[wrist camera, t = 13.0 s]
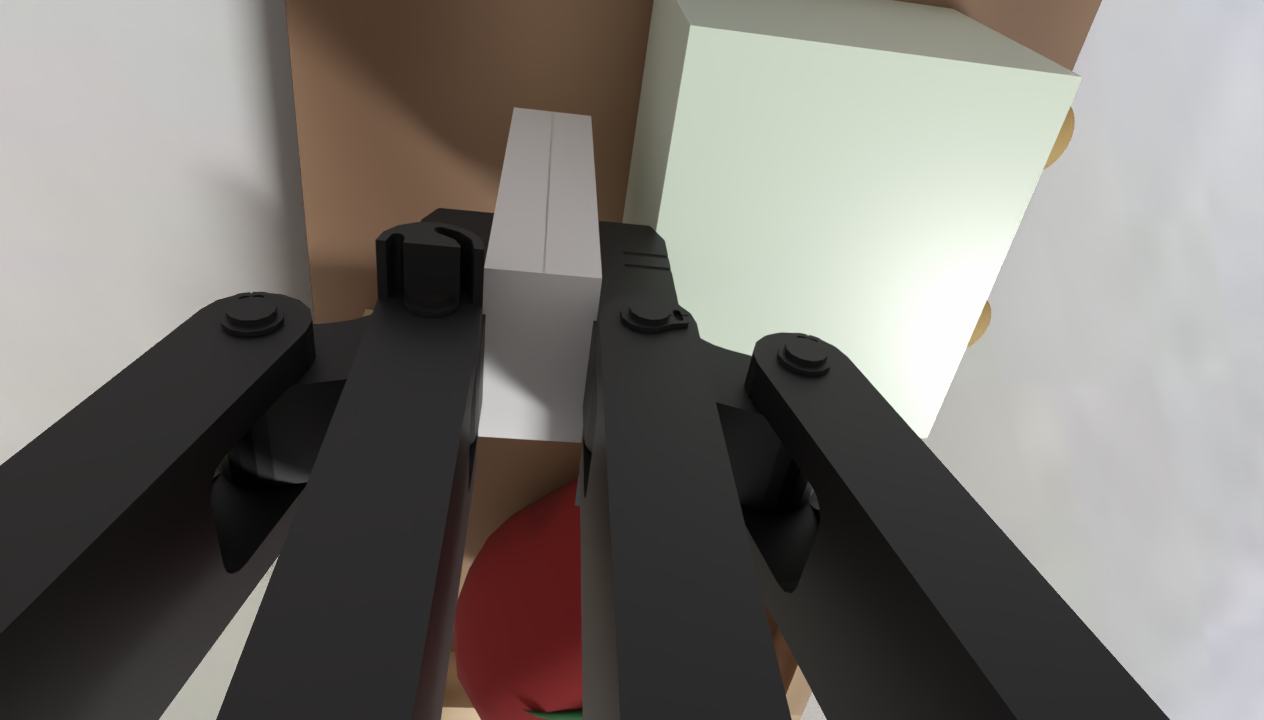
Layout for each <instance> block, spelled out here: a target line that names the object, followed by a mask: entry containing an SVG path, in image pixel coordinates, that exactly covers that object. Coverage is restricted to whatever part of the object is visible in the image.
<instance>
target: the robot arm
mask: <svg viewBox="0 0 1264 720" xmlns="http://www.w3.org/2000/svg"><path fill="white" fill-rule="evenodd" d="M375 243H376V266H377V288H378V300H377V302H376V305H375V307H374V310H373V313H372V314H370V315H367V316H364V317H361V318H358V319H354V320H347V321H341V322H333V323H322V324H313V322H312V317H311V312H310V309H309V308H308V307H307V306H305V305H304V304H303V303H302V302H301V301H299V300H297V299H294V298H291V297H288V296H285V295H281V294H272V293H266V292H253V293H250V292H248V293H240V294H237V295H234V296H231V297H227V298H223V299H220V300H217V301H215V302H213V303H211V304H209V305H208V306H206V307H204V308H202V309H201V310H199V311H198V312H197V313H195V314H194V315H193V316H192V317H190V318H189V319H188V320H186V321H185V322H184V323H183V324H181V325H180V326H179V327H177V328H176V329H175V330H174V331H172V332H171V333H170V334H168V335H167V336H166V337H165V338H163V339H162V340H161V341H160V342H158V343H157V344H156V345H154V346H153V347H152V348H151V349H149V350H148V351H147V352H145V353H144V354H143V355H142V356H140V357H139V358H138V359H136V360H135V361H134V362H133V363H131V364H130V365H129V366H127V367H126V368H125V369H124V370H122V371H121V372H120V373H118V374H117V375H116V376H115V377H113V378H112V379H111V380H110V381H108V382H107V383H106V384H104V385H103V386H102V387H101V388H99V389H98V390H97V391H95V392H94V393H93V394H92V395H90V396H89V397H88V398H86V399H85V400H84V401H83V402H81V403H80V404H79V405H77V406H76V407H75V408H74V409H72V410H71V411H70V412H68V413H67V414H66V415H65V416H63V417H62V418H61V419H60V420H58V421H57V422H56V423H54V424H53V425H52V426H51V427H49V428H48V429H47V430H45V431H44V432H43V433H42V434H40V435H39V436H38V437H36V438H35V439H34V440H33V441H31V442H30V443H29V444H27V445H26V446H25V447H24V448H22V449H21V450H20V451H19V452H17V453H16V454H15V455H13V456H12V457H11V458H10V459H8V460H7V461H6V462H4V463H3V464H2V465H1V466H0V720H159V718H160V717H161V716H162V714H163V713H164V712H165V710H166V709H167V707H168V706H169V705H170V703H171V702H172V701H173V699H174V698H175V696H176V695H177V694H178V692H179V691H180V690H181V688H182V687H183V686H184V684H185V683H186V681H187V680H188V679H189V677H190V676H191V675H192V673H193V672H194V671H195V669H196V668H197V666H198V665H199V664H200V662H201V661H202V660H203V658H204V657H205V655H206V654H207V653H208V651H209V650H210V649H211V647H212V646H213V645H214V643H215V642H216V640H217V639H218V638H219V636H220V635H221V634H222V632H223V631H224V629H225V628H226V627H227V625H228V624H229V623H230V621H231V620H232V619H233V617H234V616H235V614H236V613H237V612H238V610H239V609H240V608H241V606H242V605H243V603H244V602H245V601H246V599H247V598H248V597H249V595H250V594H251V593H252V591H253V590H254V588H255V587H256V586H257V584H258V583H259V582H260V580H261V579H262V578H263V576H264V575H265V573H266V572H267V571H268V569H269V568H270V567H271V565H272V564H273V562H274V561H275V560H276V558H277V557H278V556H279V557H278V560H277V563H276V565H275V568H274V571H273V573H272V576H271V578H270V581H269V584H268V586H267V589H266V591H265V594H264V597H263V599H262V602H261V604H260V607H259V610H258V612H257V615H256V617H255V620H254V623H253V625H252V628H251V630H250V633H249V636H248V638H247V641H246V643H245V646H244V649H243V651H242V654H241V657H240V659H239V662H238V664H237V667H236V670H235V672H234V675H233V677H232V680H231V683H230V685H229V688H228V690H227V693H226V696H225V698H224V701H223V703H222V706H221V709H220V711H219V714H218V716H217V719H216V720H441V715H442V708H443V701H444V694H445V687H446V679H447V672H448V665H449V658H450V651H451V643H452V636H453V629H454V622H455V614H456V607H457V600H458V593H459V586H460V578H461V571H462V564H463V557H464V549H465V542H466V535H467V528H468V521H469V513H470V506H471V499H472V492H473V485H474V477H475V470H476V463H477V443H478V436H479V437H495V438H512V439H528V440H544V441H560V442H576V443H581V441H582V433H583V445H582V453H581V460H580V468H579V476H578V484H577V492H576V499H575V506H580V527H581V617H582V706H583V720H792V719H791V714H790V710H789V706H788V702H787V698H786V694H785V689H784V685H783V681H782V677H781V673H780V668H779V664H778V660H777V656H776V652H775V648H774V643H773V639H772V635H771V631H770V627H769V623H768V618H767V614H766V610H765V606H764V602H763V600H764V601H765V603H766V605H767V607H768V609H769V611H770V613H771V615H772V617H773V618H774V620H775V622H776V624H777V626H778V628H779V630H780V632H781V634H782V635H783V637H784V639H785V641H786V643H787V645H788V647H789V649H790V651H791V652H792V654H793V656H794V658H795V660H796V662H797V664H798V666H799V668H800V669H801V671H802V673H803V675H804V677H805V679H806V681H807V683H808V685H809V686H810V688H811V690H812V692H813V694H814V696H815V698H816V700H817V702H818V703H819V705H820V707H821V709H822V711H823V713H824V715H825V717H826V719H827V720H1170V719H1169V718H1168V717H1167V716H1166V715H1165V713H1164V712H1163V711H1162V710H1161V709H1160V708H1159V707H1158V706H1157V704H1156V703H1155V702H1154V701H1153V700H1152V699H1151V698H1150V697H1149V695H1148V694H1147V693H1146V692H1145V691H1144V690H1143V689H1142V688H1141V686H1140V685H1139V684H1138V683H1137V682H1136V681H1135V680H1134V679H1133V677H1132V676H1131V675H1130V674H1129V673H1128V672H1127V671H1126V670H1125V668H1124V667H1123V666H1122V665H1121V664H1120V663H1119V662H1118V661H1117V659H1116V658H1115V657H1114V656H1113V655H1112V654H1111V653H1110V652H1109V650H1108V649H1107V648H1106V647H1105V646H1104V645H1103V644H1102V643H1101V641H1100V640H1099V639H1098V638H1097V637H1096V636H1095V635H1094V634H1093V632H1092V631H1091V630H1090V629H1089V628H1088V627H1087V626H1086V625H1085V623H1084V622H1083V621H1082V620H1081V619H1080V618H1079V617H1078V616H1077V614H1076V613H1075V612H1074V611H1073V610H1072V609H1071V608H1070V607H1069V605H1068V604H1067V603H1066V602H1065V601H1064V600H1063V599H1062V598H1061V596H1060V595H1059V594H1058V593H1057V592H1056V591H1055V590H1054V588H1053V587H1052V586H1051V585H1050V584H1049V583H1048V582H1047V581H1046V579H1045V578H1044V577H1043V576H1042V575H1041V574H1040V573H1039V572H1038V570H1037V569H1036V568H1035V567H1034V566H1033V565H1032V564H1031V563H1030V561H1029V560H1028V559H1027V558H1026V557H1025V556H1024V555H1023V554H1022V552H1021V551H1020V550H1019V549H1018V548H1017V547H1016V546H1015V545H1014V543H1013V542H1012V541H1011V540H1010V539H1009V538H1008V537H1007V536H1006V534H1005V533H1004V532H1003V531H1002V530H1001V529H1000V528H999V527H998V525H997V524H996V523H995V522H994V521H993V520H992V519H991V518H990V516H989V515H988V514H987V513H986V512H985V511H984V510H983V509H982V507H981V506H980V505H979V504H978V503H977V502H976V501H975V500H974V498H973V497H972V496H971V495H970V494H969V493H968V492H967V491H966V489H965V488H964V487H963V486H962V485H961V484H960V483H959V482H958V480H957V479H956V478H955V477H954V476H953V475H952V474H951V473H950V471H949V470H948V469H947V468H946V467H945V466H944V465H943V463H942V462H941V461H940V460H939V459H938V458H937V457H936V456H935V454H934V453H933V452H932V451H931V450H930V449H929V448H928V447H927V445H926V444H925V443H924V442H923V441H922V440H921V439H920V438H919V436H918V435H917V434H916V433H915V432H914V431H913V430H912V429H911V427H910V426H909V425H908V424H907V423H906V422H905V421H904V420H903V418H902V417H901V416H900V415H899V414H898V413H897V412H896V411H895V409H894V408H893V407H892V406H891V405H890V404H889V403H888V402H887V400H886V399H885V398H884V397H883V396H882V395H881V394H880V393H879V391H878V390H877V389H876V388H875V387H874V386H873V385H872V384H871V382H870V381H869V380H868V379H867V378H866V377H865V376H864V375H863V373H862V372H861V371H860V370H859V369H858V368H857V367H856V366H855V364H854V363H853V362H852V361H851V360H850V359H849V358H848V357H847V356H846V355H845V354H844V353H843V352H841V351H840V350H839V349H838V348H836V347H835V346H833V345H831V344H829V343H827V342H825V341H823V340H821V339H820V338H818V337H815V336H812V335H809V336H808V335H807V334H803V333H786V332H780V333H775V334H770V335H766V336H764V337H763V338H761V339H760V340H758V341H757V342H756V344H755V347H754V350H753V353H752V356H750V355H747V354H743V353H739V352H735V351H732V350H728V349H725V348H722V347H719V346H716V345H713V344H711V343H709V342H707V341H705V340H703V339H701V338H700V335H699V330H698V326H697V323H696V321H695V320H694V318H693V316H692V315H691V313H689V312H688V311H687V310H685V309H684V308H683V307H681V306H680V305H679V304H678V299H677V294H676V290H675V285H674V280H673V276H672V271H671V267H670V262H669V259H668V253H667V248H666V244H665V240H664V239H663V238H662V237H661V236H660V235H659V234H658V233H657V232H656V231H655V230H654V229H653V228H652V227H651V226H648V225H637V224H627V223H616V222H606V221H598V210H597V195H596V180H595V166H594V151H593V136H592V121H591V116H587V115H578V114H569V113H560V112H551V111H543V110H534V109H525V108H516V107H514V109H513V115H512V120H511V126H510V131H509V136H508V142H507V147H506V153H505V158H504V163H503V169H502V174H501V180H500V185H499V190H498V196H497V201H496V207H495V212H494V213H489V212H478V211H468V210H458V209H447V208H438V209H436V210H435V211H433V212H432V213H430V214H429V215H427V216H426V217H424V218H423V219H421V222H414V223H408V224H402V225H397V226H395V227H393V228H390V229H388V230H385V231H383V232H382V233H381V234H380V236H379V237H378V238H377V239H376V240H375ZM279 554H280V555H279Z"/></svg>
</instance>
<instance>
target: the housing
mask: <svg viewBox="0 0 1264 720" xmlns="http://www.w3.org/2000/svg"><path fill="white" fill-rule="evenodd" d="M1082 78H1083V77H1082V76H1080V75H1078V74H1076V73H1074V72H1072V71H1070V70H1069V69H1067V68H1065V67H1063V66H1061V65H1059V64H1057V63H1055V62H1053V61H1051V60H1050V59H1048V58H1046V57H1044V56H1042V55H1040V54H1038V53H1036V52H1034V51H1032V50H1031V49H1029V48H1027V47H1025V46H1023V45H1021V44H1019V43H1017V42H1015V41H1014V40H1012V39H1010V38H1008V37H1006V36H1004V35H1002V34H1000V33H998V32H996V31H995V30H993V29H991V28H989V27H987V26H985V25H983V24H981V23H979V22H977V21H976V20H974V19H972V18H970V17H968V16H966V15H964V14H962V13H960V12H958V11H957V10H955V9H951V8H944V7H937V6H930V5H923V4H916V3H909V2H902V1H895V0H654V1H653V8H652V16H651V23H650V30H649V37H648V44H647V51H646V58H645V65H644V72H643V79H642V87H641V94H640V101H639V108H638V115H637V122H636V129H635V136H634V143H633V151H632V158H631V165H630V172H629V179H628V186H627V193H626V200H625V207H624V214H623V222H622V223H627V224H637V225H648V226H651V227H652V228H653V229H654V230H655V231H656V232H657V233H658V234H659V235H660V236H661V237H662V238H663V239H664V240H665V244H666V248H667V253H668V259H669V262H670V267H671V271H672V276H673V280H674V285H675V290H676V294H677V299H678V304H679V305H680V306H681V307H683V308H684V309H685V310H687V311H688V312H689V313H691V315H692V316H693V318H694V320H695V321H696V323H697V326H698V330H699V335H700V338H701V339H703V340H705V341H707V342H709V343H711V344H713V345H716V346H719V347H722V348H725V349H728V350H732V351H735V352H739V353H743V354H747V355H750V356H752V353H753V350H754V347H755V344H756V342H757V341H758V340H760V339H761V338H763V337H764V336H766V335H770V334H775V333H780V332H786V333H803V334H807V335H808V336H809V335H812V336H815V337H818V338H820V339H821V340H823V341H825V342H827V343H829V344H831V345H833V346H835V347H836V348H838V349H839V350H840V351H841V352H843V353H844V354H845V355H846V356H847V357H848V358H849V359H850V360H851V361H852V362H853V363H854V364H855V366H856V367H857V368H858V369H859V370H860V371H861V372H862V373H863V375H864V376H865V377H866V378H867V379H868V380H869V381H870V382H871V384H872V385H873V386H874V387H875V388H876V389H877V390H878V391H879V393H880V394H881V395H882V396H883V397H884V398H885V399H886V400H887V402H888V403H889V404H890V405H891V406H892V407H893V408H894V409H895V411H896V412H897V413H898V414H899V415H900V416H901V417H902V418H903V420H904V421H905V422H906V423H907V424H908V425H909V426H910V427H911V429H912V430H913V431H914V432H915V433H916V434H917V435H918V436H919V438H927V437H928V435H929V433H930V430H931V428H932V426H933V423H934V421H935V419H936V416H937V414H938V412H939V409H940V407H941V405H942V402H943V400H944V398H945V396H946V393H947V391H948V389H949V386H950V384H951V382H952V379H953V377H954V375H955V372H956V370H957V368H958V365H959V363H960V361H961V358H962V356H963V354H964V352H965V349H966V347H967V345H968V342H969V340H970V338H971V335H972V333H973V331H974V328H975V326H976V324H977V321H978V319H979V317H980V315H981V312H982V310H983V308H984V305H985V303H986V301H987V298H988V296H989V294H990V291H991V289H992V287H993V284H994V282H995V280H996V277H997V275H998V273H999V271H1000V268H1001V266H1002V264H1003V261H1004V259H1005V257H1006V254H1007V252H1008V250H1009V247H1010V245H1011V243H1012V240H1013V238H1014V236H1015V233H1016V231H1017V229H1018V227H1019V224H1020V222H1021V220H1022V217H1023V215H1024V213H1025V210H1026V208H1027V206H1028V203H1029V201H1030V199H1031V196H1032V194H1033V192H1034V189H1035V187H1036V185H1037V183H1038V180H1039V178H1040V176H1041V173H1042V171H1043V169H1044V166H1045V164H1046V162H1047V159H1048V157H1049V155H1050V152H1051V150H1052V148H1053V145H1054V143H1055V141H1056V139H1057V136H1058V134H1059V132H1060V129H1061V127H1062V125H1063V122H1064V120H1065V118H1066V115H1067V113H1068V111H1069V108H1070V106H1071V104H1072V102H1073V99H1074V97H1075V95H1076V92H1077V90H1078V88H1079V85H1080V83H1081V81H1082Z"/></svg>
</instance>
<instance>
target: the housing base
mask: <svg viewBox="0 0 1264 720" xmlns="http://www.w3.org/2000/svg"><path fill="white" fill-rule="evenodd" d="M653 1H654V0H285V4H286V15H287V26H288V37H289V48H290V59H291V70H292V81H293V92H294V103H295V114H296V125H297V136H298V147H299V158H300V169H301V180H302V191H303V202H304V212H305V223H306V234H307V245H308V256H309V267H310V278H311V289H312V300H313V311H314V322H315V324H322V323H333V322H341V321H347V320H354V319H358V318H361V317H364V316H367V315H370V314H372V313H373V310H374V307H375V305H376V302H377V300H378V288H377V266H376V243H375V240H376V239H377V238H378V237H379V236H380V234H381V233H382V232H383V231H385V230H388V229H390V228H393V227H395V226H397V225H402V224H408V223H414V222H421V219H423V218H424V217H426V216H427V215H429V214H430V213H432V212H433V211H435V210H436V209H438V208H447V209H458V210H468V211H478V212H489V213H494V212H495V207H496V201H497V196H498V190H499V185H500V180H501V174H502V169H503V163H504V158H505V153H506V147H507V142H508V136H509V131H510V126H511V120H512V115H513V109H514V107H516V108H525V109H534V110H543V111H551V112H560V113H569V114H578V115H587V116H591V121H592V136H593V151H594V166H595V180H596V195H597V210H598V221H606V222H616V223H622V222H623V214H624V207H625V200H626V193H627V186H628V179H629V172H630V165H631V158H632V151H633V143H634V136H635V129H636V122H637V115H638V108H639V101H640V94H641V87H642V79H643V72H644V65H645V58H646V51H647V44H648V37H649V30H650V23H651V16H652V8H653ZM895 1H902V2H909V3H916V4H923V5H930V6H937V7H944V8H951V9H955V10H957V11H958V12H960V13H962V14H964V15H966V16H968V17H970V18H972V19H974V20H976V21H977V22H979V23H981V24H983V25H985V26H987V27H989V28H991V29H993V30H995V31H996V32H998V33H1000V34H1002V35H1004V36H1006V37H1008V38H1010V39H1012V40H1014V41H1015V42H1017V43H1019V44H1021V45H1023V46H1025V47H1027V48H1029V49H1031V50H1032V51H1034V52H1036V53H1038V54H1040V55H1042V56H1044V57H1046V58H1048V59H1050V60H1051V61H1053V62H1055V63H1057V64H1059V65H1061V66H1063V67H1065V68H1067V69H1069V70H1070V71H1072V70H1073V68H1074V65H1075V63H1076V60H1077V58H1078V56H1079V53H1080V51H1081V49H1082V46H1083V44H1084V42H1085V39H1086V37H1087V34H1088V32H1089V30H1090V27H1091V25H1092V23H1093V20H1094V18H1095V15H1096V13H1097V11H1098V8H1099V6H1100V4H1101V1H1102V0H895ZM1073 130H1074V113H1073V110H1072V108H1071V106H1070V108H1069V111H1068V113H1067V115H1066V118H1065V120H1064V122H1063V125H1062V127H1061V129H1060V132H1059V134H1058V136H1057V139H1056V141H1055V143H1054V145H1053V148H1052V150H1051V152H1050V155H1049V157H1048V159H1047V162H1046V164H1045V166H1044V169H1046V168H1047V167H1049V166H1050V165H1051V164H1052V163H1054V162H1055V161H1056V160H1057V159H1058V158H1059V157H1060V156H1061V154H1062V153H1063V152H1064V150H1065V149H1066V147H1067V146H1068V144H1069V142H1070V140H1071V137H1072V134H1073ZM1044 169H1043V170H1044ZM990 319H991V308H990V305H989V302H988V301H986V303H985V305H984V308H983V310H982V312H981V315H980V317H979V319H978V321H977V324H976V326H975V328H974V331H973V333H972V335H971V338H970V340H969V342H968V345H967V347H966V348H968V347H969V346H971V345H972V344H974V343H975V342H976V341H977V340H978V339H979V338H980V337H981V336H982V335H983V334H984V332H985V331H986V329H987V327H988V325H989V323H990ZM582 445H583V433H582V441H581V443H576V442H560V441H544V440H528V439H512V438H495V437H479V436H478V443H477V463H476V470H475V477H474V485H473V492H472V499H471V506H470V513H469V521H468V528H467V535H466V542H465V549H464V557H463V564H462V571H461V578H460V586H459V593H458V598H459V595H460V592H461V589H462V587H463V584H464V581H465V579H466V576H467V573H468V570H469V568H470V566H471V565H472V563H473V561H474V560H475V558H476V556H477V555H478V553H479V552H480V550H481V548H482V547H483V545H484V543H485V542H486V540H487V539H488V537H489V536H490V535H491V534H492V533H493V532H494V531H495V530H496V529H497V528H498V527H500V526H501V525H502V524H503V523H504V522H505V521H506V520H507V519H508V518H509V517H510V516H511V515H513V514H515V513H516V512H518V511H520V510H522V509H523V508H525V507H527V506H529V505H530V504H532V503H534V502H536V501H537V500H539V499H541V498H543V497H544V496H546V495H548V494H550V493H551V492H553V491H555V490H556V489H558V488H560V487H562V486H563V485H565V484H567V483H569V482H570V481H572V480H574V479H576V478H577V477H578V476H579V468H580V460H581V453H582ZM763 602H764V606H765V610H766V614H767V618H768V623H769V627H770V631H771V635H772V639H773V643H774V648H775V652H776V656H777V660H778V664H779V668H780V673H781V677H782V681H783V685H784V689H785V694H786V698H787V702H788V706H789V710H790V714H791V719H792V720H800V719H801V716H802V714H803V712H804V709H805V707H806V705H807V702H808V700H809V697H810V695H811V693H812V690H811V688H810V686H809V685H808V683H807V681H806V679H805V677H804V675H803V673H802V671H801V669H800V668H799V666H798V664H797V662H796V660H795V658H794V656H793V654H792V652H791V651H790V649H789V647H788V645H787V643H786V641H785V639H784V637H783V635H782V634H781V632H780V630H779V628H778V626H777V624H776V622H775V620H774V618H773V617H772V615H771V613H770V611H769V609H768V607H767V605H766V603H765V601H764V600H763ZM454 623H455V622H454ZM441 720H481V719H480V717H479V715H478V713H477V712H476V710H475V708H474V707H473V705H472V703H471V701H470V699H469V697H468V696H467V694H466V692H465V690H464V688H463V687H462V685H461V683H460V681H459V679H458V678H457V668H456V657H455V646H454V629H453V636H452V643H451V651H450V658H449V665H448V672H447V679H446V687H445V694H444V701H443V708H442V715H441Z"/></svg>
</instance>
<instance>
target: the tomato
mask: <svg viewBox="0 0 1264 720" xmlns="http://www.w3.org/2000/svg"><path fill="white" fill-rule="evenodd" d="M577 484H578V477H577V478H576V479H574V480H572V481H570V482H569V483H567V484H565V485H563V486H562V487H560V488H558V489H556V490H555V491H553V492H551V493H550V494H548V495H546V496H544V497H543V498H541V499H539V500H537V501H536V502H534V503H532V504H530V505H529V506H527V507H525V508H523V509H522V510H520V511H518V512H516V513H515V514H513V515H511V516H510V517H509V518H508V519H507V520H506V521H505V522H504V523H503V524H502V525H501V526H500V527H498V528H497V529H496V530H495V531H494V532H493V533H492V534H491V535H490V536H489V537H488V539H487V540H486V542H485V543H484V545H483V547H482V548H481V550H480V552H479V553H478V555H477V556H476V558H475V560H474V561H473V563H472V565H471V566H470V568H469V570H468V573H467V576H466V579H465V581H464V584H463V587H462V589H461V592H460V595H459V598H458V600H457V607H456V614H455V623H454V646H455V657H456V668H457V678H458V679H459V681H460V683H461V685H462V687H463V688H464V690H465V692H466V694H467V696H468V697H469V699H470V701H471V703H472V705H473V707H474V708H475V710H476V712H477V713H478V715H479V717H480V719H481V720H583V706H582V617H581V527H580V506H575V499H576V492H577Z"/></svg>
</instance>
